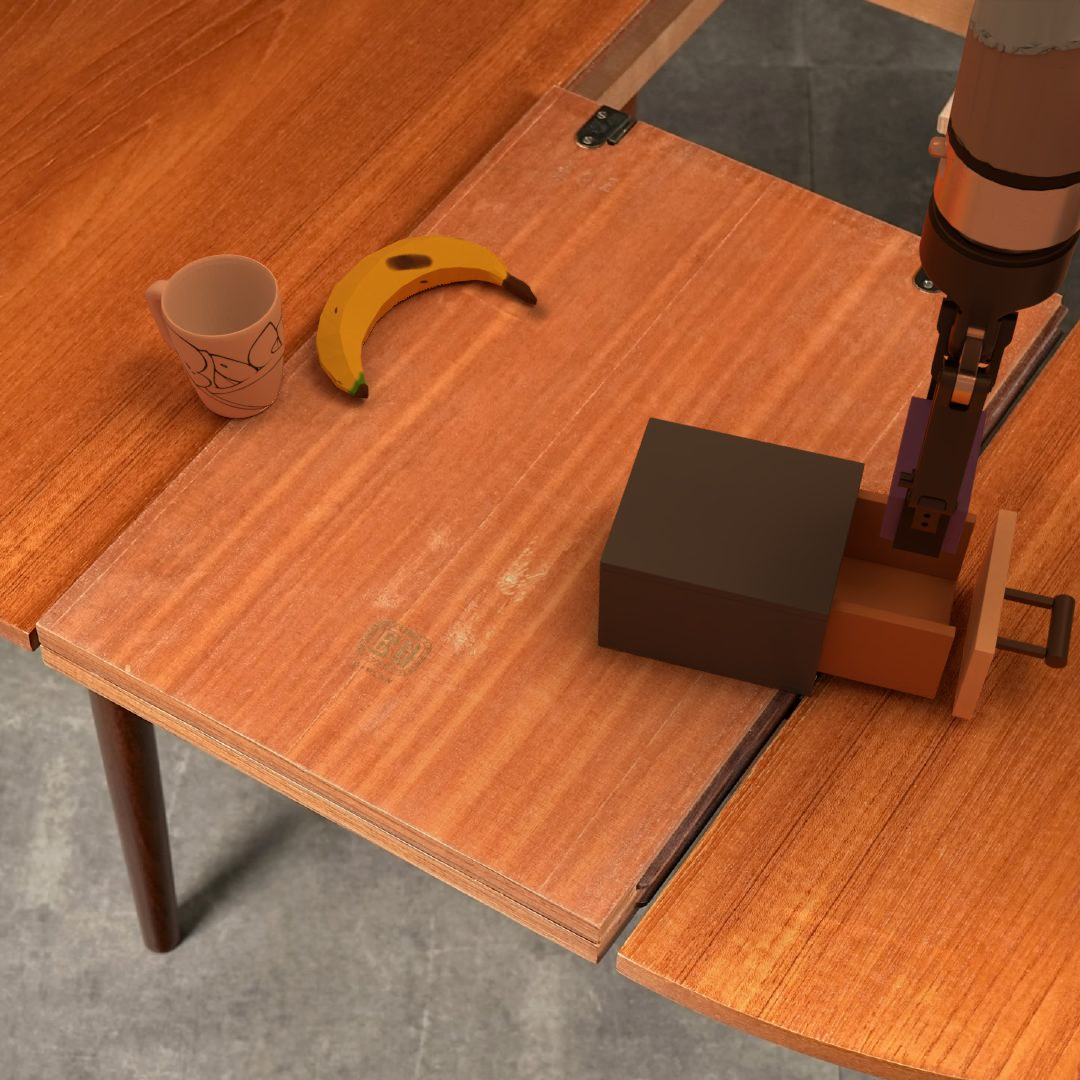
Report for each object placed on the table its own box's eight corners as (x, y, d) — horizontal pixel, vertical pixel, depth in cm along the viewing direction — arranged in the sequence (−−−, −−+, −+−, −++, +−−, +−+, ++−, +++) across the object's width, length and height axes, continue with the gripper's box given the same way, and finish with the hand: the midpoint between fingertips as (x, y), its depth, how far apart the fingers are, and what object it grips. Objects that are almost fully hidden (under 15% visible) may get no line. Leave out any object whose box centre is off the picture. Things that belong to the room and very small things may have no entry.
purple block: (974, 454, 104) (987, 411, 101) (955, 554, 100) (967, 512, 97) (901, 438, 105) (912, 395, 102) (879, 537, 101) (889, 495, 97)
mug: (131, 390, 129) (102, 295, 121) (199, 320, 133) (175, 225, 125) (253, 446, 126) (232, 353, 118) (318, 373, 130) (302, 278, 122)
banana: (289, 355, 125) (480, 420, 124) (374, 192, 134) (553, 252, 133) (289, 391, 129) (475, 454, 128) (373, 230, 138) (546, 289, 137)
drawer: (1066, 598, 115) (1095, 528, 109) (1047, 738, 109) (1076, 673, 102) (799, 538, 119) (812, 467, 112) (765, 670, 112) (776, 603, 106)
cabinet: (846, 550, 119) (865, 462, 111) (811, 697, 112) (828, 615, 104) (644, 504, 122) (649, 416, 114) (597, 645, 115) (599, 561, 107)
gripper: (961, 66, 91) (894, 358, 109) (896, 338, 79) (833, 615, 97) (1104, 90, 89) (1012, 382, 108) (1059, 371, 78) (965, 645, 96)
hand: (927, 492), depth 102 cm, fingers closed on purple block, 8 cm apart
